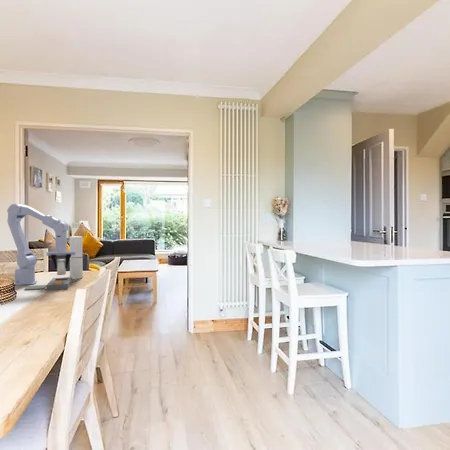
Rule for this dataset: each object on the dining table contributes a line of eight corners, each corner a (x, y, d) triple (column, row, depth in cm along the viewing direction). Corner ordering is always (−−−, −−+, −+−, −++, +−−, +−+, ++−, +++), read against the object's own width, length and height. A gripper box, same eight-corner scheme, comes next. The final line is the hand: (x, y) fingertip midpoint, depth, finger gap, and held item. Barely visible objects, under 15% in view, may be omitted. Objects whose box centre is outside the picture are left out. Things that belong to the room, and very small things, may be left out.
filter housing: (46, 290, 183) (46, 285, 183) (53, 282, 204) (53, 277, 204) (67, 289, 186) (67, 284, 186) (72, 281, 207) (72, 277, 207)
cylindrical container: (78, 279, 214) (77, 237, 214) (67, 278, 216) (67, 236, 215) (85, 277, 221) (84, 236, 221) (74, 276, 223) (74, 236, 222)
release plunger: (54, 287, 186) (53, 282, 186) (55, 286, 189) (55, 280, 189) (61, 287, 187) (61, 281, 187) (62, 286, 190) (62, 280, 190)
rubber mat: (24, 290, 182) (24, 289, 182) (28, 286, 191) (28, 285, 191) (44, 289, 185) (44, 288, 185) (47, 286, 193) (47, 284, 193)
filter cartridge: (56, 275, 196) (56, 260, 196) (56, 273, 201) (56, 259, 201) (66, 274, 198) (65, 260, 198) (66, 273, 203) (66, 259, 202)
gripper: (45, 244, 193) (45, 269, 193) (74, 244, 197) (74, 268, 198) (47, 243, 200) (47, 268, 200) (75, 243, 204) (76, 267, 204)
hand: (61, 268), depth 199 cm, fingers closed on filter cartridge, 5 cm apart
